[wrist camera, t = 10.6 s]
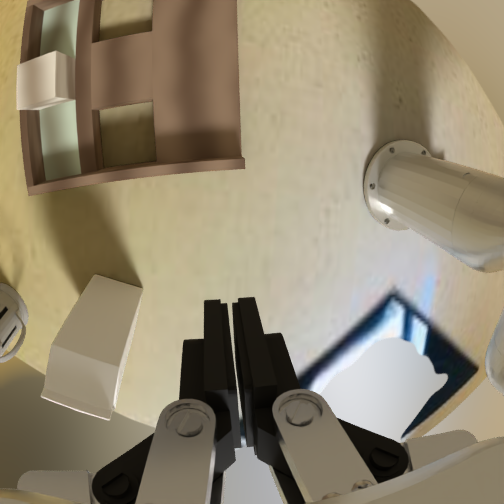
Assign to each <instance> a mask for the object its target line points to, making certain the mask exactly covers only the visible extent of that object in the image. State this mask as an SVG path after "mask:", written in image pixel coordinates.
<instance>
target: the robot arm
mask: <svg viewBox="0 0 504 504" xmlns="http://www.w3.org/2000/svg"><path fill="white" fill-rule="evenodd" d="M389 150H390V151H389ZM370 184H371V185H370ZM364 196H365V200H366V205H367V207H368V209H369V211H370V213H371V214H372V216H373V217H374V219H376V220H377V221H378V222H379V223H380V224H381V225H383V226H385V227H387V228H389V229H391V230H397V231H400V230H407V229H412V230H413V231H415V232H416V233H418V234H420V235H421V236H423V237H424V238H426V239H428V240H429V241H431V242H432V243H434V244H435V245H437V246H439V247H440V248H442V249H443V250H445V251H446V252H448V253H449V254H451V255H452V256H454V257H455V258H457V259H458V260H460V261H461V262H463V263H464V264H466V265H467V266H469V267H470V268H472V269H474V270H477V271H479V272H485V273H491V272H497V271H501V270H504V178H503V177H500V176H497V175H494V174H491V173H487V172H484V171H480V170H477V169H474V168H470V167H467V166H463V165H460V164H456V163H452V162H449V161H445V160H441V159H437V158H433V157H432V156H431V154H430V153H429V152H428V150H427V149H425V148H424V147H423V146H422V145H420V144H418V143H416V142H413V141H409V140H396V141H393V142H390V143H388V144H386V145H385V146H383V147H382V148H381V149H380V150H379V151H378V152H377V153H376V154H375V155H374V157H373V158H372V160H371V161H370V164H369V166H368V168H367V171H366V175H365V180H364ZM232 310H233V328H234V345H235V361H236V371H237V379H238V387H239V394H240V402H241V409H242V416H243V423H244V430H245V437H246V444H247V447H252V446H254V452H255V455H257V458H258V459H259V460H261V461H263V462H265V463H266V464H268V465H269V468H270V472H271V474H272V477H273V479H274V481H275V484H276V486H277V488H278V491H279V494H280V496H281V498H282V501H283V503H284V504H504V437H497V438H492V439H488V440H484V441H481V442H477V440H476V438H475V436H474V435H473V434H471V433H470V432H468V431H465V430H455V431H451V432H446V433H441V434H436V435H430V436H425V437H419V438H412V439H406V441H405V442H404V443H398V442H396V441H394V440H392V439H389V438H386V437H384V436H381V435H378V434H376V433H373V432H371V431H368V430H365V429H363V428H360V427H358V426H355V425H353V424H351V423H348V422H345V421H343V420H341V419H339V418H336V416H335V415H334V413H333V412H332V410H331V408H330V407H329V405H328V404H327V402H326V401H325V400H324V398H323V397H322V396H320V395H319V394H317V393H315V392H313V391H310V390H304V389H300V386H299V383H298V380H297V377H296V374H295V371H294V368H293V365H292V362H291V359H290V356H289V353H288V350H287V347H286V344H285V341H284V338H283V336H282V334H281V333H272V334H264V332H263V328H262V324H261V320H260V316H259V312H258V308H257V304H256V301H255V297H247V298H238V302H237V303H232ZM485 369H486V374H487V377H488V379H489V381H490V383H491V384H492V385H493V387H495V389H496V390H497V391H498V392H499V393H500V394H502V395H503V396H504V308H503V310H502V313H501V315H500V318H499V320H498V323H497V325H496V328H495V330H494V333H493V335H492V338H491V340H490V343H489V345H488V348H487V352H486V357H485ZM234 448H241V436H240V424H239V411H238V397H237V386H236V377H235V369H234V361H233V352H232V343H231V335H230V325H229V316H228V307H227V303H223V304H221V301H220V299H218V300H204V339H189V340H184V342H183V352H182V364H181V378H180V394H179V400H178V401H174V402H173V403H171V404H169V405H167V406H166V407H165V408H164V409H163V410H162V412H161V414H160V416H159V419H158V423H157V426H156V430H155V433H153V434H152V435H150V436H149V437H147V438H146V439H145V440H143V441H142V442H140V443H139V444H138V445H136V446H135V447H133V448H132V449H130V450H129V451H127V452H126V453H124V454H123V455H121V456H120V457H118V458H117V459H115V460H114V461H112V462H111V463H109V464H108V465H106V466H105V467H103V468H102V469H101V470H99V471H98V472H97V473H89V472H88V471H87V470H83V471H37V470H34V471H28V472H26V473H25V474H23V475H22V476H21V478H20V479H19V482H18V486H17V490H16V489H0V504H223V500H224V489H225V477H226V471H225V470H226V469H227V468H228V467H229V466H231V465H232V464H233V463H234V462H235V461H236V459H235V449H234Z"/></svg>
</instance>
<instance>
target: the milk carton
mask: <svg viewBox="0 0 504 504" xmlns="http://www.w3.org/2000/svg"><path fill="white" fill-rule="evenodd" d="M142 294H143V289H142V288H139V287H136V286H133V285H129V284H126V283H123V282H119V281H116V280H113V279H110V278H106V277H103V276H100V275H97V274H94V276H93V277H92V279H91V280H90V282H89V283H88V285H87V286H86V288H85V289H84V291H83V292H82V294H81V296H80V297H79V299H78V300H77V302H76V304H75V305H74V307H73V309H72V310H71V312H70V314H69V315H68V317H67V319H66V320H65V322H64V324H63V325H62V327H61V329H60V331H59V332H58V334H57V336H56V338H55V339H54V341H53V343H52V344H51V349H50V354H49V360H48V365H47V371H46V378H45V384H44V389H43V391H42V394H41V397H42V398H45V399H47V400H50V401H52V402H55V403H57V404H60V405H63V406H65V407H69V408H71V409H73V410H76V411H78V412H82V413H86V414H89V415H92V416H95V417H99V418H102V419H105V420H110V418H111V413H112V411H113V410H114V409H115V407H116V402H117V398H118V394H119V389H120V385H121V381H122V377H123V373H124V369H125V365H126V361H127V357H128V354H129V350H130V346H131V343H132V339H133V335H134V332H135V328H136V323H137V317H138V313H139V308H140V303H141V298H142Z"/></svg>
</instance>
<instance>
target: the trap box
mask: <svg viewBox="0 0 504 504" xmlns="http://www.w3.org/2000/svg"><path fill="white" fill-rule="evenodd" d="M102 1H103V0H29V1H27V7H26V13H25V20H24V27H23V36H22V46H21V59H20V64H22V63H24V62H27V61H29V60H32V59H34V58H37V57H40V56H42V55H45V54H48V53H51V52H54V51H58V52H61V53H63V54H65V55H68V56H70V57H72V58H74V59H75V100H73V101H69V102H65V103H61V104H58V105H54V106H51V107H47V108H44V109H41V110H20V128H21V142H22V152H23V162H24V170H25V177H26V184H27V190H28V196H32V195H37V194H42V193H47V192H52V191H58V190H63V189H69V188H74V187H80V186H86V185H93V184H99V183H106V182H113V181H120V180H127V179H135V178H143V177H152V176H161V175H171V174H181V173H192V172H204V171H218V170H233V169H245V158H243V157H242V154H241V125H240V96H239V65H238V31H237V0H153V22H152V31H150V32H144V33H138V34H132V35H127V36H122V37H117V38H113V39H108V40H104V41H100V42H99V30H100V15H101V3H102ZM151 101H153V110H154V129H155V144H156V157H157V161H151V162H143V163H135V164H128V165H121V166H114V167H107V168H104V164H103V155H102V144H101V131H100V115H99V110H103V109H109V108H114V107H119V106H125V105H131V104H138V103H144V102H151Z"/></svg>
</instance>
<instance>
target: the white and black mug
mask: <svg viewBox="0 0 504 504" xmlns="http://www.w3.org/2000/svg"><path fill="white" fill-rule="evenodd" d="M27 322H28V311H27V307H26V305H25V303H24V301H23V299H22V298H21V296H20V295H19V294H18V293H17V292H16V291H15V290H14V289H13V288H12V287H10V286H8V285H7V284H4V283H0V363H1V362H5V361H7V360H9V359H11V358H12V357H13V356H14V355H15V354H16V353H17V352H18V350H19V349H20V347H21V345H22V343H23V341H24V338H25V334H26V327H25V326H26V324H27ZM20 329H22V332H21V335H20V338H19V340H18V342H17V343H16V345H15V347H14V348H13V349H12V350H11V351H10V352H9V353H8V354H6V355H5V356H2V355H3V353H4V352H5V350H6V349H7V347H8V346H9V344H10V343H11V341H12V340H13V338H14V337H15V335H16V334H17V333H18V331H19V330H20Z"/></svg>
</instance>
